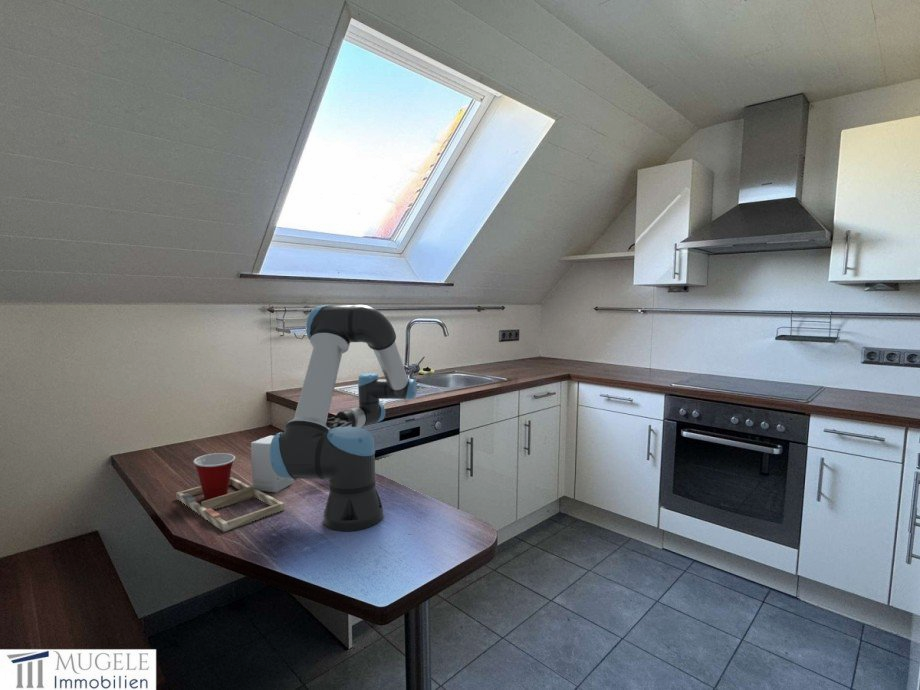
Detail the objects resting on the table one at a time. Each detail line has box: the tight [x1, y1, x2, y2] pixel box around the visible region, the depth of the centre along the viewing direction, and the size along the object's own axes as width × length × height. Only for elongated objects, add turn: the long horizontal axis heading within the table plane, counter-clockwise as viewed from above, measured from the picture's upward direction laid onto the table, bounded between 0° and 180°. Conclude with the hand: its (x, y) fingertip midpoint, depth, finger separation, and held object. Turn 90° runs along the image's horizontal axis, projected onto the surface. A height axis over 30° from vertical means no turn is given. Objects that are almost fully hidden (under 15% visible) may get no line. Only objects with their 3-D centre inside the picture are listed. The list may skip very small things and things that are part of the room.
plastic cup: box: [193, 452, 236, 501], centre depth 135 cm, size 11×11×12 cm
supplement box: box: [250, 435, 295, 493], centre depth 143 cm, size 9×9×15 cm
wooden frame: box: [176, 476, 285, 532], centre depth 130 cm, size 32×16×3 cm, turn 50°
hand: (299, 433), depth 151 cm, fingers open, 13 cm apart
